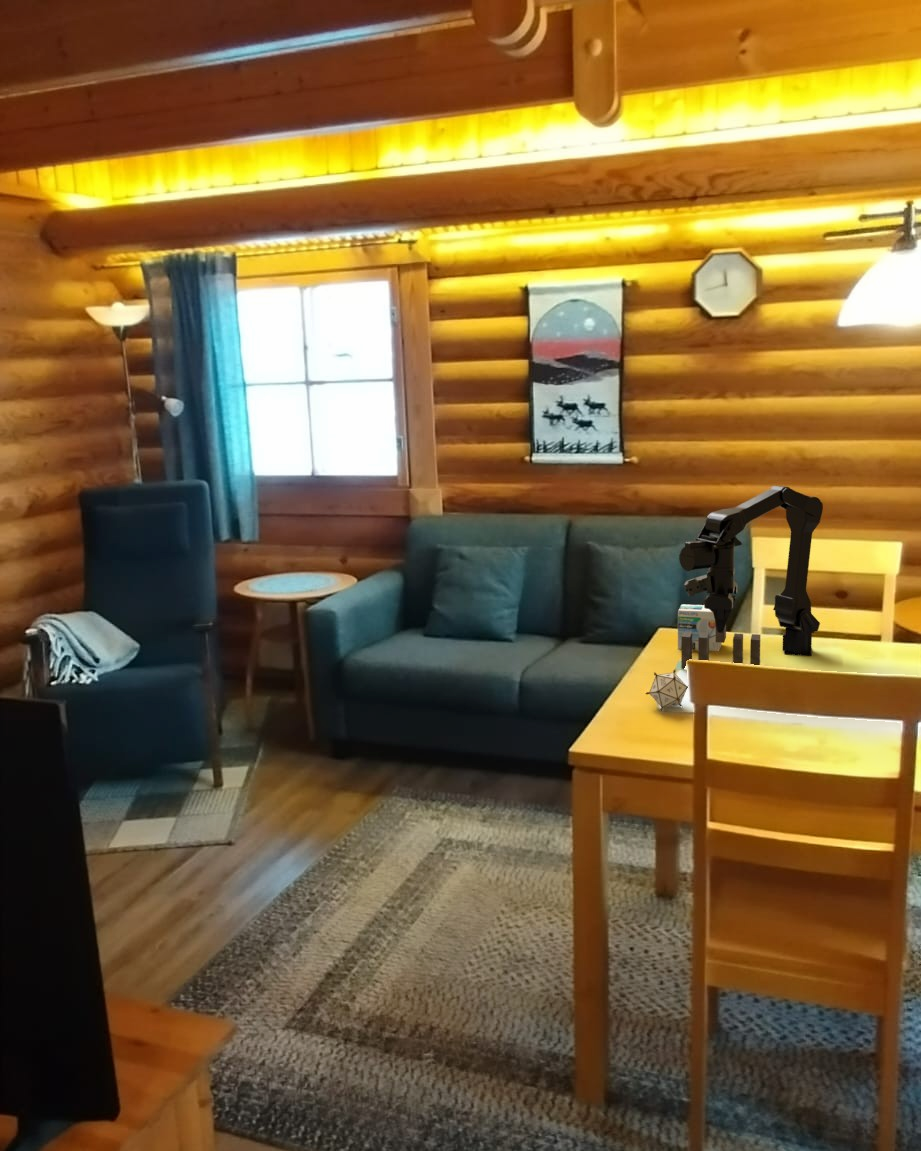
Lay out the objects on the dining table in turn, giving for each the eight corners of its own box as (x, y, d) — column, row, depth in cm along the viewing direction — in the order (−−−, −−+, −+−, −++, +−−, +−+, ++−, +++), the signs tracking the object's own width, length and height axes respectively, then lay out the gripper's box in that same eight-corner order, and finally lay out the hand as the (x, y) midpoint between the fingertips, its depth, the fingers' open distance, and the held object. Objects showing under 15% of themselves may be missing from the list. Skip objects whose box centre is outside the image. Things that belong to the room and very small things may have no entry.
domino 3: (725, 637, 247) (726, 604, 245) (724, 642, 242) (724, 610, 240) (717, 636, 247) (717, 604, 245) (715, 642, 243) (715, 609, 241)
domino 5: (759, 666, 245) (760, 634, 244) (758, 672, 241) (759, 640, 239) (751, 666, 246) (751, 634, 244) (750, 672, 241) (750, 639, 240)
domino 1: (692, 662, 250) (692, 631, 249) (689, 669, 246) (689, 637, 244) (683, 662, 251) (684, 631, 249) (681, 668, 247) (681, 636, 245)
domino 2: (708, 663, 249) (709, 632, 248) (706, 669, 245) (707, 637, 243) (700, 663, 250) (700, 631, 248) (698, 669, 245) (698, 637, 244)
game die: (675, 725, 220) (690, 699, 213) (638, 711, 221) (652, 684, 214) (683, 695, 226) (698, 668, 219) (646, 681, 227) (660, 654, 220)
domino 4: (742, 665, 247) (743, 633, 245) (741, 671, 242) (741, 639, 240) (734, 665, 247) (734, 633, 246) (732, 671, 243) (733, 638, 241)
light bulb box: (677, 650, 263) (677, 609, 261) (680, 643, 269) (680, 603, 267) (719, 652, 259) (719, 611, 257) (722, 645, 265) (722, 605, 263)
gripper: (691, 557, 252) (691, 618, 255) (682, 573, 235) (682, 638, 238) (737, 558, 248) (737, 620, 252) (732, 574, 231) (731, 640, 234)
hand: (721, 629), depth 244 cm, fingers closed on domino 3, 5 cm apart
